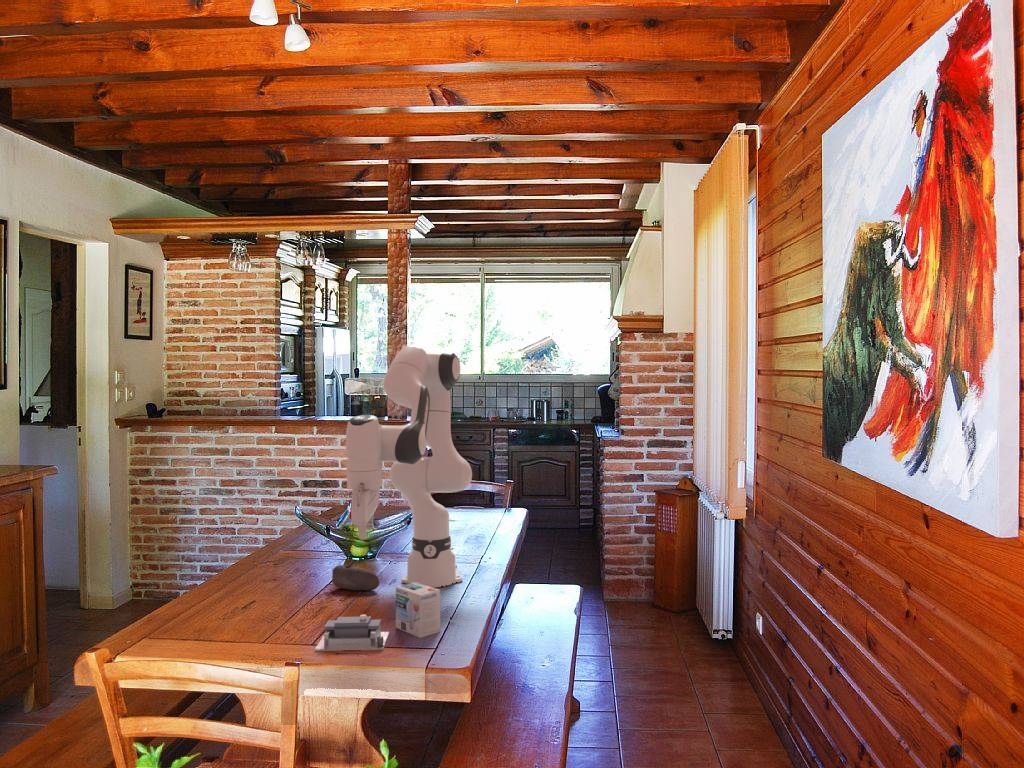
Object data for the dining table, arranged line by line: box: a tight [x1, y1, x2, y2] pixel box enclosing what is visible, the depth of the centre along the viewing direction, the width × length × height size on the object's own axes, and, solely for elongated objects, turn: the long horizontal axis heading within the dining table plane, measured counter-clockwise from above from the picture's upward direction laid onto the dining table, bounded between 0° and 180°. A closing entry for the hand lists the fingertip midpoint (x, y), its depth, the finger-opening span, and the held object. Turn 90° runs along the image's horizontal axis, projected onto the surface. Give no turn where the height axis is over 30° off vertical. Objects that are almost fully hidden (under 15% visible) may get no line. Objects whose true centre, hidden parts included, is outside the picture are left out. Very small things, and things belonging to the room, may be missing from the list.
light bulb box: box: [395, 582, 441, 639], centre depth 193 cm, size 11×7×11 cm, turn 45°
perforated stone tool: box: [331, 564, 380, 592], centre depth 228 cm, size 15×5×7 cm, turn 70°
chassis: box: [314, 623, 390, 652], centre depth 185 cm, size 11×16×4 cm
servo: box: [323, 614, 382, 637], centre depth 185 cm, size 4×13×6 cm, turn 91°
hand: (366, 533), depth 193 cm, fingers open, 8 cm apart
